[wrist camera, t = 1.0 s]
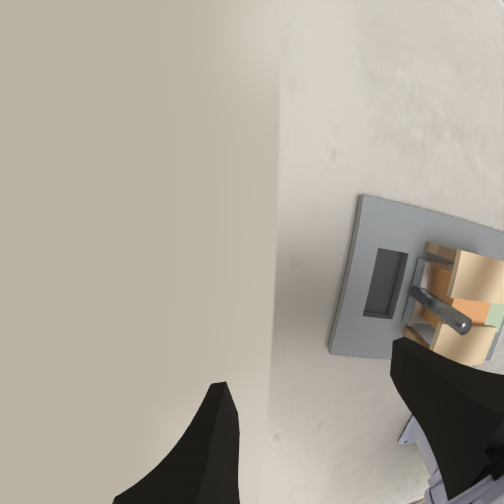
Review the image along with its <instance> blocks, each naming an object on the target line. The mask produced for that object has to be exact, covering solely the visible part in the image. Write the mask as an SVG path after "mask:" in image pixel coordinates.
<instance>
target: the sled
mask: <svg viewBox="0 0 504 504" xmlns="http://www.w3.org/2000/svg"><path fill="white" fill-rule="evenodd" d="M453 267H454V265H452V264H447V263H441V262H436V261H431V260H426V259H421V258H418V262H417V266H416V271H415V275H414V279H413V283H412V288H411V290H410V295H409V299H408V303H407V306H406V310H405V313H404V317H403V321H404V322H405V323H406V324H407V325H408V326H415V324H416V323H423V324H429V323H428V322H427V321H426V320H425V319H423V318H422V317H423V314H424V310H425V307H426V308H427V309H428V310H429V311H431V312H432V313H433V314H435V315H436V316H437V317H438V318H440V319H441V320H442V321H444V322H445V323H446V324H447V325H449V326H450V327H451V328H452V329H454V330H455V331H456V332H457V333H459V334H460V335H466V334H467V333H468V332H469V331H470V329H471V327H472V320H471V319H470V318H469V317H467V316H466V315H464V314H463V313H461V312H460V311H458V310H457V309H455V308H454V307H452V306H451V305H449V304H448V303H446V302H445V301H443V300H442V299H440V298H438V297H437V296H435V295H434V294H432V293H431V292H430V289H431V285H432V281H433V277H434V272H435V268H436V269H442V270H447V271H453Z"/></svg>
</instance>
